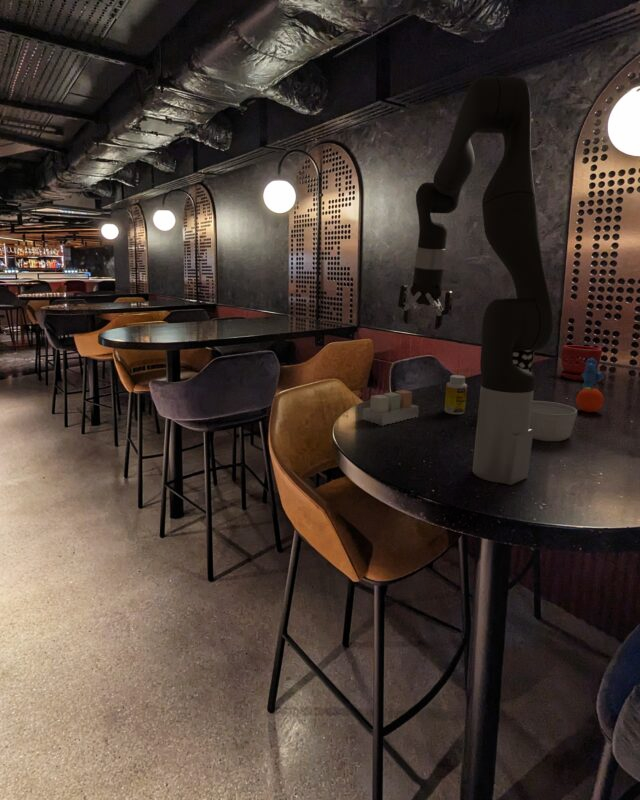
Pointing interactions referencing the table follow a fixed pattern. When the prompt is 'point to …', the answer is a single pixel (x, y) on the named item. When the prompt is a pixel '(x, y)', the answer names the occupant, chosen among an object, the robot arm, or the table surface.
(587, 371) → the grapes
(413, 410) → the keypad frame
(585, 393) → the clementine
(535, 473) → the table surface
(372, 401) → the key ivory
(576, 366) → the plant pot
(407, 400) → the key terracotta
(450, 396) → the supplement bottle
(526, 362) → the spotted tube
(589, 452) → the table surface
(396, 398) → the key sage
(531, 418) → the ramekin
